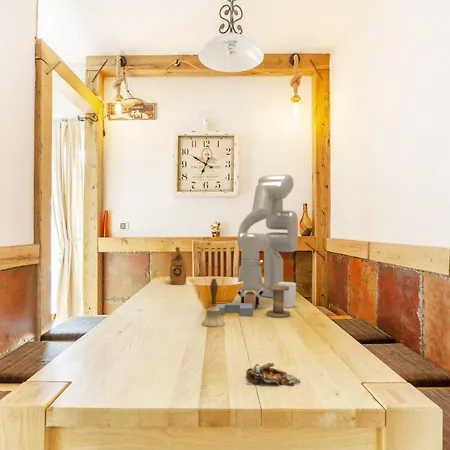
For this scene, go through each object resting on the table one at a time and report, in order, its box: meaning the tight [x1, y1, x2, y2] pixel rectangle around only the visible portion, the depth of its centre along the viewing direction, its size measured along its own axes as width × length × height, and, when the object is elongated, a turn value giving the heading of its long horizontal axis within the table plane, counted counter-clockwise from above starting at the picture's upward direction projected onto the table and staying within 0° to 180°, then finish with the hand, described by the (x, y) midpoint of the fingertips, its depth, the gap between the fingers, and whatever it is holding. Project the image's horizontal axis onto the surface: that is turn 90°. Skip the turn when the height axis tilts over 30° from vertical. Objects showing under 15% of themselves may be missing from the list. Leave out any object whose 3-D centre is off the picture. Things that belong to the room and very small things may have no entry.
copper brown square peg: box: [244, 291, 256, 310], centre depth 163 cm, size 4×4×7 cm
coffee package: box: [169, 246, 187, 286], centre depth 232 cm, size 10×12×22 cm
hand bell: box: [201, 278, 226, 328], centre depth 135 cm, size 8×8×16 cm
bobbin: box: [266, 285, 291, 319], centre depth 150 cm, size 9×9×11 cm
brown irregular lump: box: [245, 362, 301, 387], centre depth 86 cm, size 7×12×4 cm, turn 87°
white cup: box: [278, 281, 297, 309], centre depth 167 cm, size 8×8×10 cm
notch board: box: [216, 302, 254, 317], centre depth 153 cm, size 16×10×3 cm, turn 87°
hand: (249, 305), depth 163 cm, fingers open, 4 cm apart
